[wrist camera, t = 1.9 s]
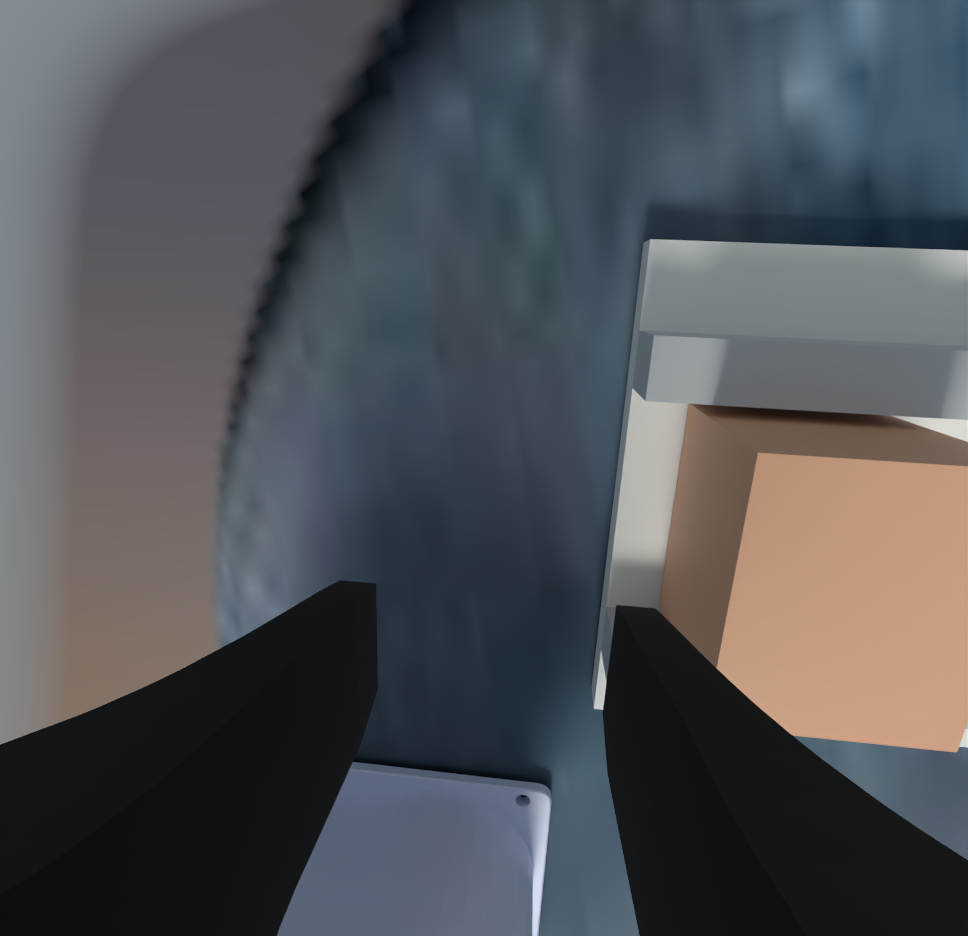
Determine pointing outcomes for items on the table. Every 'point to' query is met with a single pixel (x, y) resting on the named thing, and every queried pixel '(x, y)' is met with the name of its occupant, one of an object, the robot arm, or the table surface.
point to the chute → (771, 368)
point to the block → (826, 569)
